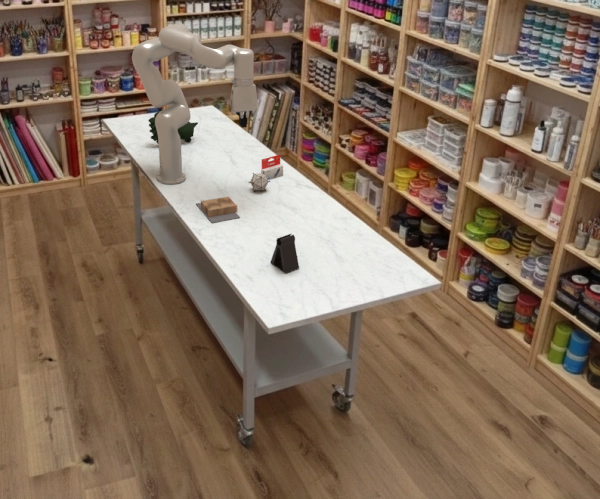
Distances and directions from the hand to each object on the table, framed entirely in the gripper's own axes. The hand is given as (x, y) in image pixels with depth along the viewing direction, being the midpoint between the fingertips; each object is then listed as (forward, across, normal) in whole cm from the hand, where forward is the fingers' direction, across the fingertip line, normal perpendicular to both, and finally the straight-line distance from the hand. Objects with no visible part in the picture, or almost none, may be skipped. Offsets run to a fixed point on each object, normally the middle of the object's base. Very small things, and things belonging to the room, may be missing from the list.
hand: (243, 126), depth 282 cm
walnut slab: (+29, -8, -9) cm, 32 cm away
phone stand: (+31, -9, -58) cm, 67 cm away
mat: (+31, -15, -9) cm, 36 cm away
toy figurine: (+31, -7, +67) cm, 74 cm away
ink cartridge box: (+31, +20, +13) cm, 39 cm away
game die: (+31, +9, +3) cm, 33 cm away
